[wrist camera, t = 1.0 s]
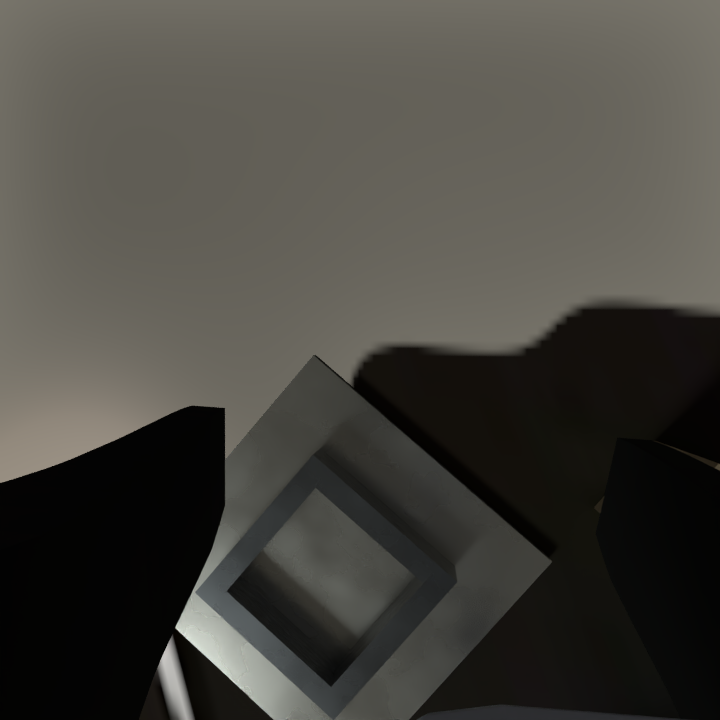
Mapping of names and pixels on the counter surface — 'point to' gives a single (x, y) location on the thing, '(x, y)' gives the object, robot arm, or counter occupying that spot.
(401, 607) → the socket plate
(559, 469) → the counter surface
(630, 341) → the counter surface
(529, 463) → the counter surface
